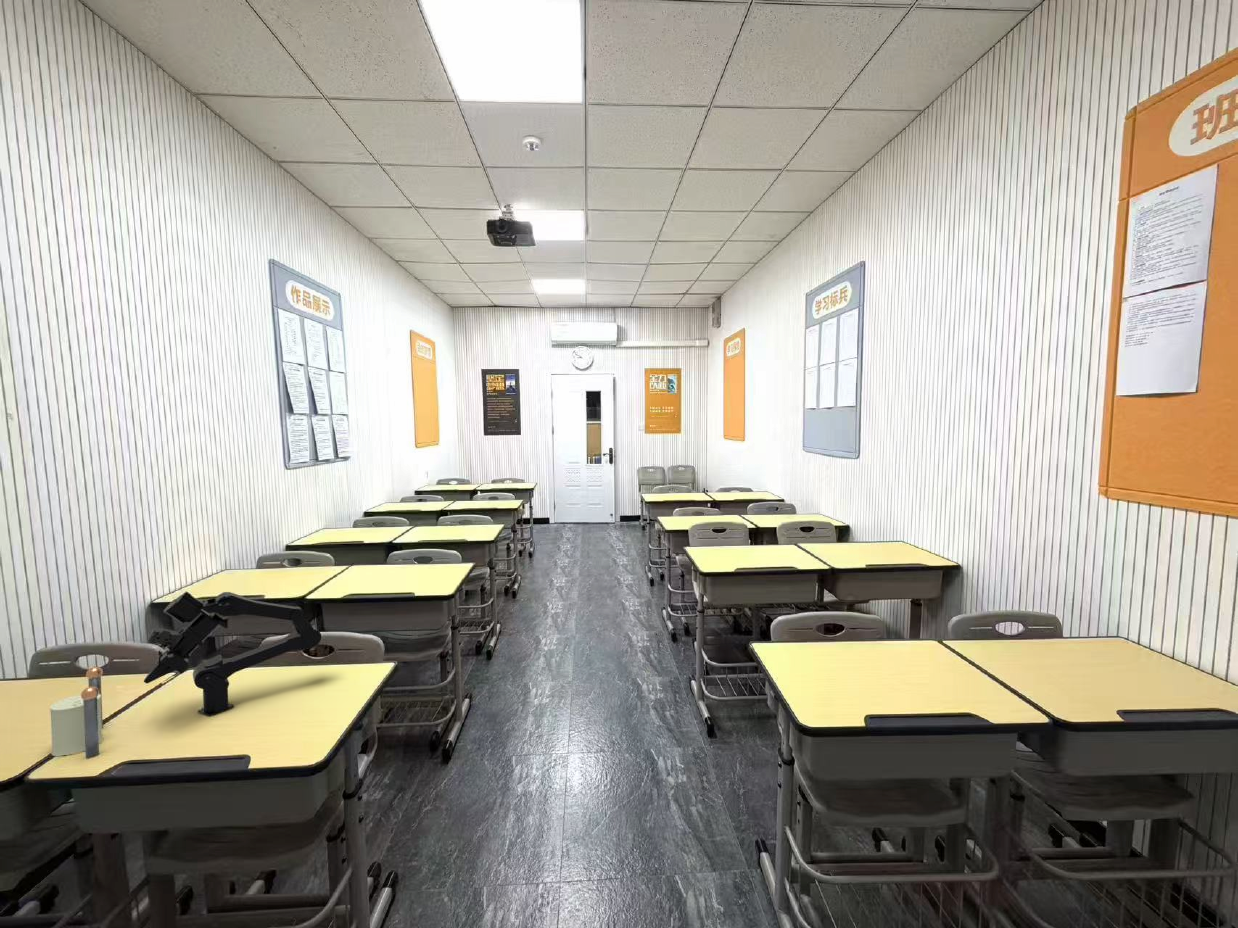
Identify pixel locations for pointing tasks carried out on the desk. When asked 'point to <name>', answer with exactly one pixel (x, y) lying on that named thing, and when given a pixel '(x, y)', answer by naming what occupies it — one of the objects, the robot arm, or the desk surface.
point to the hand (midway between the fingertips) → (145, 682)
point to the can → (70, 725)
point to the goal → (92, 711)
